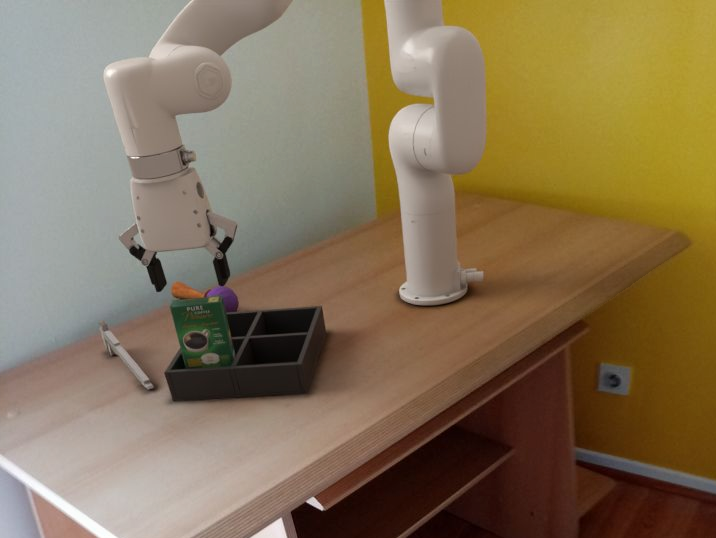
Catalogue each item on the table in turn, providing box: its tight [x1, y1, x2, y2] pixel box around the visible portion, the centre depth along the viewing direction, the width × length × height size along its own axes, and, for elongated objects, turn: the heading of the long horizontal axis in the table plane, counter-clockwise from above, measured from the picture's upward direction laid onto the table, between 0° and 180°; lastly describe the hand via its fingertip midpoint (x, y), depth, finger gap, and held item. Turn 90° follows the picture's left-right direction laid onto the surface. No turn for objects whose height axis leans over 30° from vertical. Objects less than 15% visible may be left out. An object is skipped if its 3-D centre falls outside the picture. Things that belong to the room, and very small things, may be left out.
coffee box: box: [169, 295, 236, 369], centre depth 118 cm, size 8×3×13 cm, turn 92°
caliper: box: [98, 320, 154, 391], centre depth 127 cm, size 20×1×6 cm, turn 35°
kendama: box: [170, 281, 240, 313], centre depth 146 cm, size 6×6×20 cm
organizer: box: [163, 305, 327, 402], centre depth 124 cm, size 21×21×5 cm
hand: (192, 285), depth 113 cm, fingers open, 9 cm apart
